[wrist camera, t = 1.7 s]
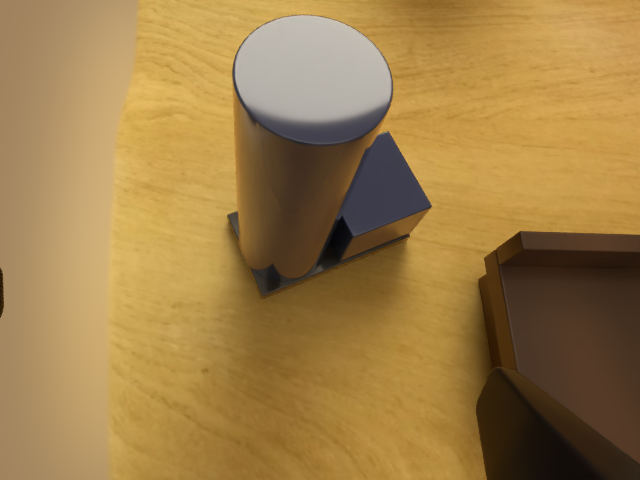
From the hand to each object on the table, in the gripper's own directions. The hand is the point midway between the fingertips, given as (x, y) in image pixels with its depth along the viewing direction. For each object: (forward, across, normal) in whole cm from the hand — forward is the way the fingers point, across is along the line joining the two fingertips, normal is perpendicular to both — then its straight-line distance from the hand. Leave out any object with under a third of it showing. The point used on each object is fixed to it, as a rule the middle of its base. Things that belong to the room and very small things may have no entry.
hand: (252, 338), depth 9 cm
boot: (+15, -2, +3) cm, 15 cm away
